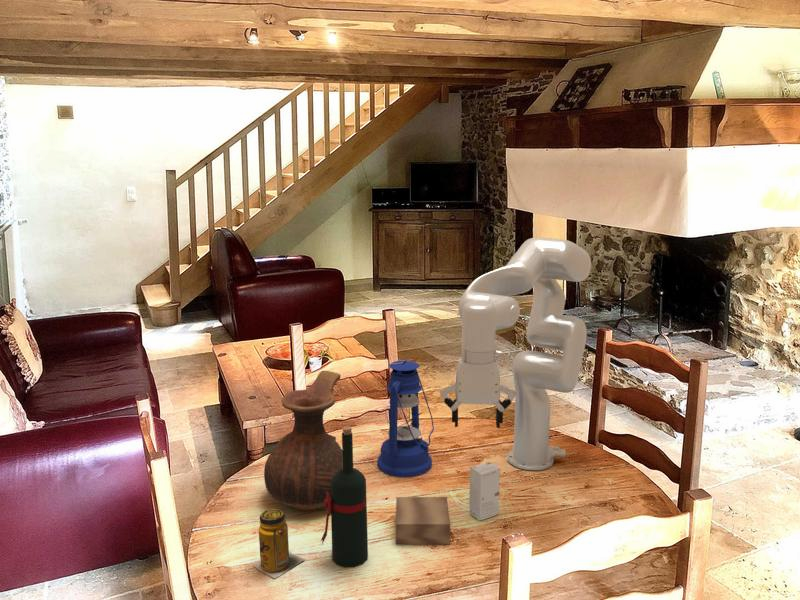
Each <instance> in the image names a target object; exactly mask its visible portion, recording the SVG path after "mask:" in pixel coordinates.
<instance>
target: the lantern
mask: <svg viewBox="0 0 800 600" xmlns="http://www.w3.org/2000/svg"><path fill="white" fill-rule="evenodd" d="M388 367H389V368H390V369H391V370H392V371H391V372H389V379H388V386H386V390H387V391H388V392H389V393H390V398H389V405H388V406H387V407H386V408H385V412H384V414H385V418H386V419H387V422H388V423H389V424H388V425H389V428H388V429H389V430H388V431H387V436H388V438H387V439H386V440H384V441H383V442H382V444H381V446H380V455H379V456H378V457H377V459H376V460H377V461H376V466H377V468H378V470H379V471H380V472H381V473H383V474H384V475H387V476H389V477H390V476H391V477H396V478H414V477H419V476H422V475H424V474H426V473H428V472H429V471H430V470H431V469H432V467H433V459H432V457H431V455H430V453H429V446H430V445H431V435H432V434H433V432H434V429H435V427H434V421H433V415H432V413H431V409H430V406H429V403H428V399H427V397H426V394H425V391H424V387H423V385H422V382H421V379H420V376H419V373H418V372H419V371H418V370H417V369H419V368H420V364H419V363H417V362H414V361H411V360H405V359H404V360H401V359H400V360H395V361H394V360H393V361H392V362H391V363H389V365H388ZM421 391H422V393H423V396H424V397H423V398H424V399H425V403H426V406H427V408H428V412H429V415H430V419H431V425H432V430H431V431H430V433H429V435H428V442H427V441H425V440H423V436H421V435H422V431H421V430H420V415H421V414H423V413H424V411H422V412H419V411H420V409H419V404H420V398H419V392H421ZM399 408H400V409H401V412H402V413H403V414H402V415H403V417H404V419H405V423H402V424H401V425H399V426H398V416H399V415H398V414H399V413H398V411H399ZM407 408H409V409H410V411H411V412H410V411H408V410H407ZM388 409H389V419H388V417H387V410H388ZM405 411H406V412H408V413H409V414H410V415H411V419H409V420H408V419H407V416H406V414H405ZM409 422H410V424H409Z"/></svg>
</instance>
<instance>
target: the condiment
mask: <svg viewBox="0 0 800 600" xmlns="http://www.w3.org/2000/svg"><path fill="white" fill-rule="evenodd" d="M258 541H259V542H258V543H259V557H260V558H259V560H260V561H259V562H258V561H257V562H256V563H254V564H252V567H254V568H256V569H257V570H258V571H260V572H262V573H264V574H265V575H267V576H269V577H271V578H273V579H276V578H278V577H280V576H282V575H283V574H285V573H287V572H288V571H289V570H291V569H292V568H294V567H296V566H297V565H299V564H300V563H302V562H304V561H305V560H306V559H305V558H302V557H300V556H299V555H295V554H294V553H293V552H290V549H289V548H290V547H289V527H288V524H287V521H286V513H285V512H284V511H283V510H282V509H279V508H271V509H270V508H269V509H267V510H264V511H263V512H261V514H259V527H258Z"/></svg>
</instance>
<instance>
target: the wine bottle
mask: <svg viewBox="0 0 800 600" xmlns="http://www.w3.org/2000/svg"><path fill="white" fill-rule="evenodd" d="M341 429H342V432H341V449H342V457H343V468H342V469H340V470H339V471H337V472H336V473H335V474H334V475H333V477H332V479H331V497H330V493H328V492H327V491H326V499H325V500H324V503H325V507H324V508H325V510H326V517H325V519H326V520H325V526H324V527H325V528H324V532H323V535H322V538H321V539H320V542H321V545H323V544H324V541H325V540H326V538H327V535H328V531H329V530H328V528H329V519H330V518H331V519H330V520H331V521H330V522H331V558H332V559H331V560H332V561H333V562H334V564H335V565H337V566H339V567H342V568H355V567H359V566H362V565H364V564H365V563H366V562H367V561H368V559H369V551H368V550H369V547H368V545H369V544H368V543H369V542H368V540H369V539H368V510H367V505H368V503H367V479H366V477H365V475H364V474H363V473H362V472H361V471H360V470H359V469H357V468H355V467H354V452H353V451H354V450H353V449H354V445H353V432H352V430H353V429H352V427H351V426H350V425H348V426H342V428H341ZM329 517H330V518H329Z"/></svg>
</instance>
